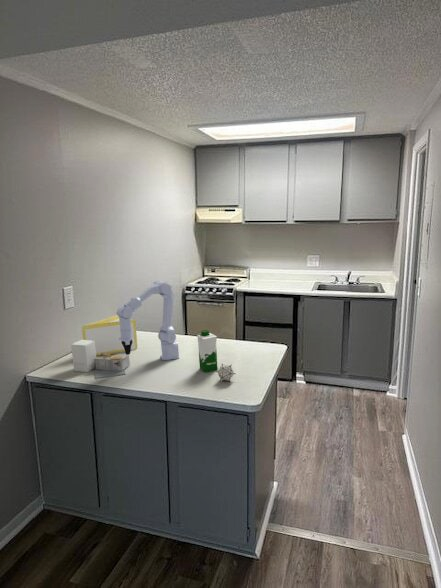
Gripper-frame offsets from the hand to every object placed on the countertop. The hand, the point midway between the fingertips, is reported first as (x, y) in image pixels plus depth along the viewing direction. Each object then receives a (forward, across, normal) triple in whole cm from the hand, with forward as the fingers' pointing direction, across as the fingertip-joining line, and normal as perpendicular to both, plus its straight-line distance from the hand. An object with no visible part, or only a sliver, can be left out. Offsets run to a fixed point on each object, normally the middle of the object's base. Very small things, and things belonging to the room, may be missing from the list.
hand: (127, 354), depth 220 cm
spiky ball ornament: (+9, +34, +44) cm, 56 cm away
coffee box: (+5, -1, -1) cm, 5 cm away
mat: (+8, 0, -10) cm, 13 cm away
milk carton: (+9, +16, +40) cm, 44 cm away
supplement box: (+9, -10, -22) cm, 26 cm away
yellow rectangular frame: (+9, -36, -5) cm, 38 cm away
